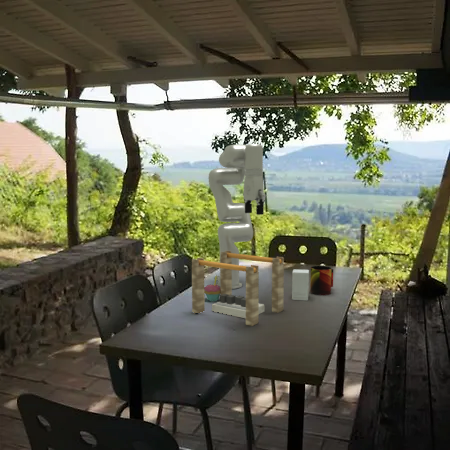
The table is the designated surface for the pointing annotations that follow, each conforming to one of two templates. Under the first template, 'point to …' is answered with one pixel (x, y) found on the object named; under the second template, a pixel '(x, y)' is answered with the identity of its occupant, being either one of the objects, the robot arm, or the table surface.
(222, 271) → the wooden post rack
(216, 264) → the orange rounded rod
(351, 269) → the table surface
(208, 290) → the cupcake
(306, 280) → the supplement box
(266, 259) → the orange cylindrical bar
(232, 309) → the breaker panel
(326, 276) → the mug
